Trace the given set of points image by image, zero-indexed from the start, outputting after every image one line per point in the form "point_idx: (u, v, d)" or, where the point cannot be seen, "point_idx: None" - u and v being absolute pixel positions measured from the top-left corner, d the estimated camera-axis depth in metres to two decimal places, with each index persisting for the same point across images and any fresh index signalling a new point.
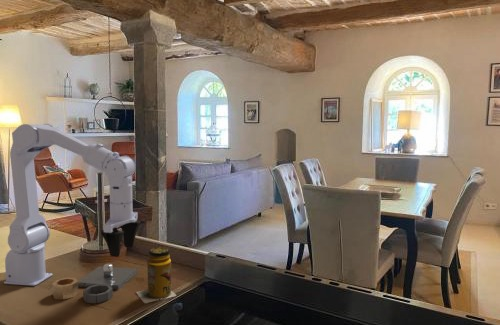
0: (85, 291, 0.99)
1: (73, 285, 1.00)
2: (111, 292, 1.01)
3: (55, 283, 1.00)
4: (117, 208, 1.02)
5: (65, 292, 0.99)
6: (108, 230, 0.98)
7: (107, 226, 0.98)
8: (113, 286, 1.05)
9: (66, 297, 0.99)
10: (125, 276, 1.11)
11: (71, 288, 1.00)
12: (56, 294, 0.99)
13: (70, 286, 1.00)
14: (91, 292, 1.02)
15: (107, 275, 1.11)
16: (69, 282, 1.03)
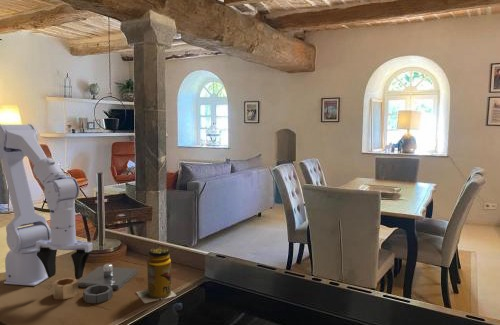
0: (85, 291, 0.99)
1: (73, 285, 1.00)
2: (111, 292, 1.01)
3: (55, 283, 1.00)
4: None
5: (65, 292, 0.99)
6: None
7: None
8: (113, 286, 1.05)
9: (66, 297, 0.99)
10: (125, 276, 1.11)
11: (71, 288, 1.00)
12: (56, 294, 0.99)
13: (70, 286, 1.00)
14: (91, 292, 1.02)
15: (107, 275, 1.11)
16: (69, 282, 1.03)
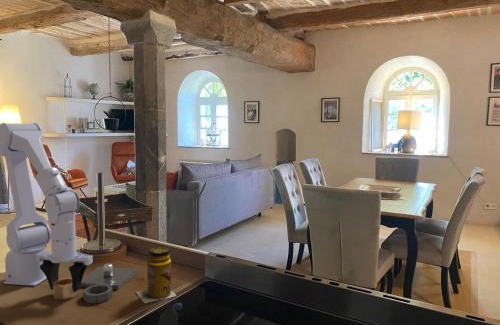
0: (85, 291, 0.99)
1: None
2: (111, 292, 1.01)
3: (55, 283, 1.00)
4: None
5: (65, 292, 0.99)
6: None
7: None
8: (113, 286, 1.05)
9: (66, 297, 0.99)
10: (125, 276, 1.11)
11: (71, 288, 1.00)
12: (56, 294, 0.99)
13: (70, 286, 1.00)
14: (91, 292, 1.02)
15: (107, 275, 1.11)
16: (69, 282, 1.03)
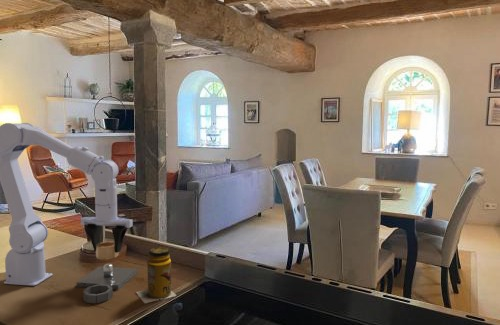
0: (85, 291, 0.99)
1: None
2: (111, 292, 1.01)
3: (98, 245, 1.10)
4: None
5: (108, 253, 1.08)
6: None
7: None
8: (113, 286, 1.05)
9: (109, 257, 1.08)
10: (125, 276, 1.11)
11: (113, 249, 1.09)
12: (100, 255, 1.08)
13: (112, 247, 1.09)
14: (91, 292, 1.02)
15: (107, 275, 1.11)
16: (110, 245, 1.13)
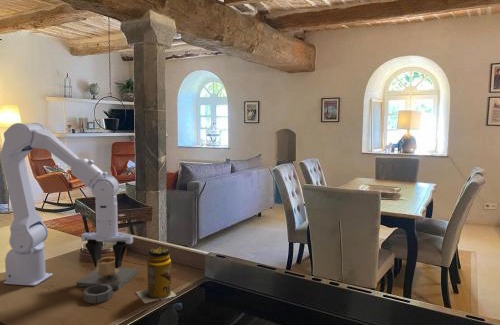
0: (85, 291, 0.99)
1: None
2: (111, 292, 1.01)
3: (99, 261, 1.10)
4: None
5: (108, 269, 1.09)
6: None
7: None
8: (113, 286, 1.05)
9: (109, 273, 1.09)
10: (125, 276, 1.11)
11: (114, 265, 1.10)
12: (100, 271, 1.09)
13: (113, 263, 1.09)
14: (91, 292, 1.02)
15: None
16: (110, 261, 1.13)
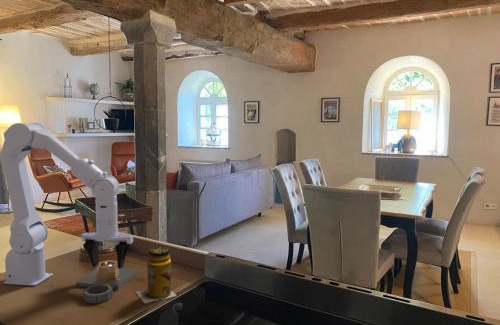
0: (85, 291, 0.99)
1: (115, 266, 1.10)
2: (111, 292, 1.01)
3: (99, 265, 1.10)
4: None
5: (108, 273, 1.09)
6: None
7: None
8: (113, 286, 1.05)
9: (109, 277, 1.09)
10: (125, 276, 1.11)
11: (114, 269, 1.10)
12: (100, 275, 1.09)
13: (113, 267, 1.10)
14: (91, 292, 1.02)
15: None
16: None
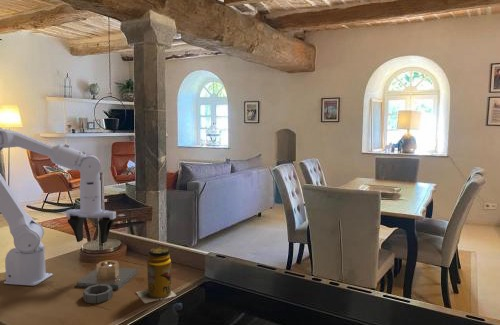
0: (85, 291, 0.99)
1: (115, 266, 1.10)
2: (111, 292, 1.01)
3: (99, 265, 1.10)
4: None
5: (108, 273, 1.09)
6: None
7: None
8: (113, 286, 1.05)
9: (109, 277, 1.09)
10: (125, 276, 1.11)
11: (114, 269, 1.10)
12: (100, 275, 1.09)
13: (113, 267, 1.10)
14: (91, 292, 1.02)
15: None
16: None
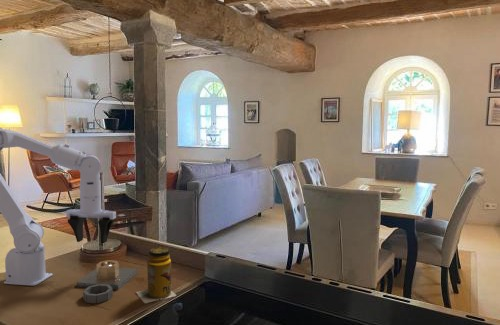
0: (85, 291, 0.99)
1: (115, 266, 1.10)
2: (111, 292, 1.01)
3: (99, 265, 1.10)
4: None
5: (108, 273, 1.09)
6: None
7: None
8: (113, 286, 1.05)
9: (109, 277, 1.09)
10: (125, 276, 1.11)
11: (114, 269, 1.10)
12: (100, 275, 1.09)
13: (113, 267, 1.10)
14: (91, 292, 1.02)
15: None
16: None
